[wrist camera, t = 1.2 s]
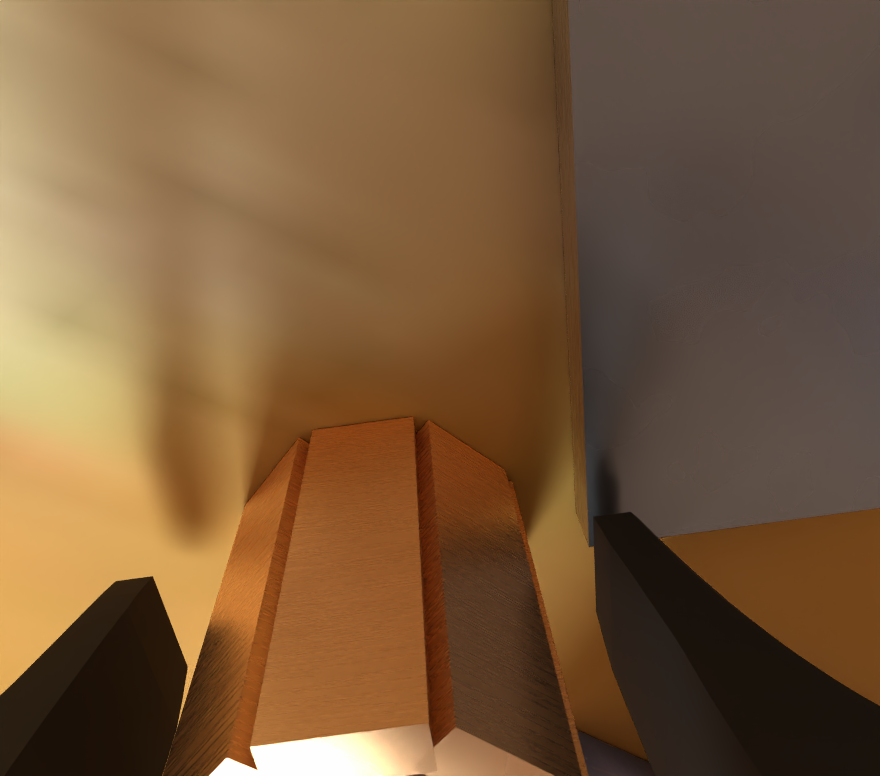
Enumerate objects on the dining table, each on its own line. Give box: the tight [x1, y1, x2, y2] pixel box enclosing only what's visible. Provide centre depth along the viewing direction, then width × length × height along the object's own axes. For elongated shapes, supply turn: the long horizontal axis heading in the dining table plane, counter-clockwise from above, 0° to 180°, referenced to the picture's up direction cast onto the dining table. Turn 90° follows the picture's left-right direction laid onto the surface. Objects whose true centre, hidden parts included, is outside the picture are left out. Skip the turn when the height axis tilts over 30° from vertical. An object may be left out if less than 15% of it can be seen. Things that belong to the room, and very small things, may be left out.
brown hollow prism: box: [163, 417, 589, 776], centre depth 11 cm, size 5×5×6 cm
